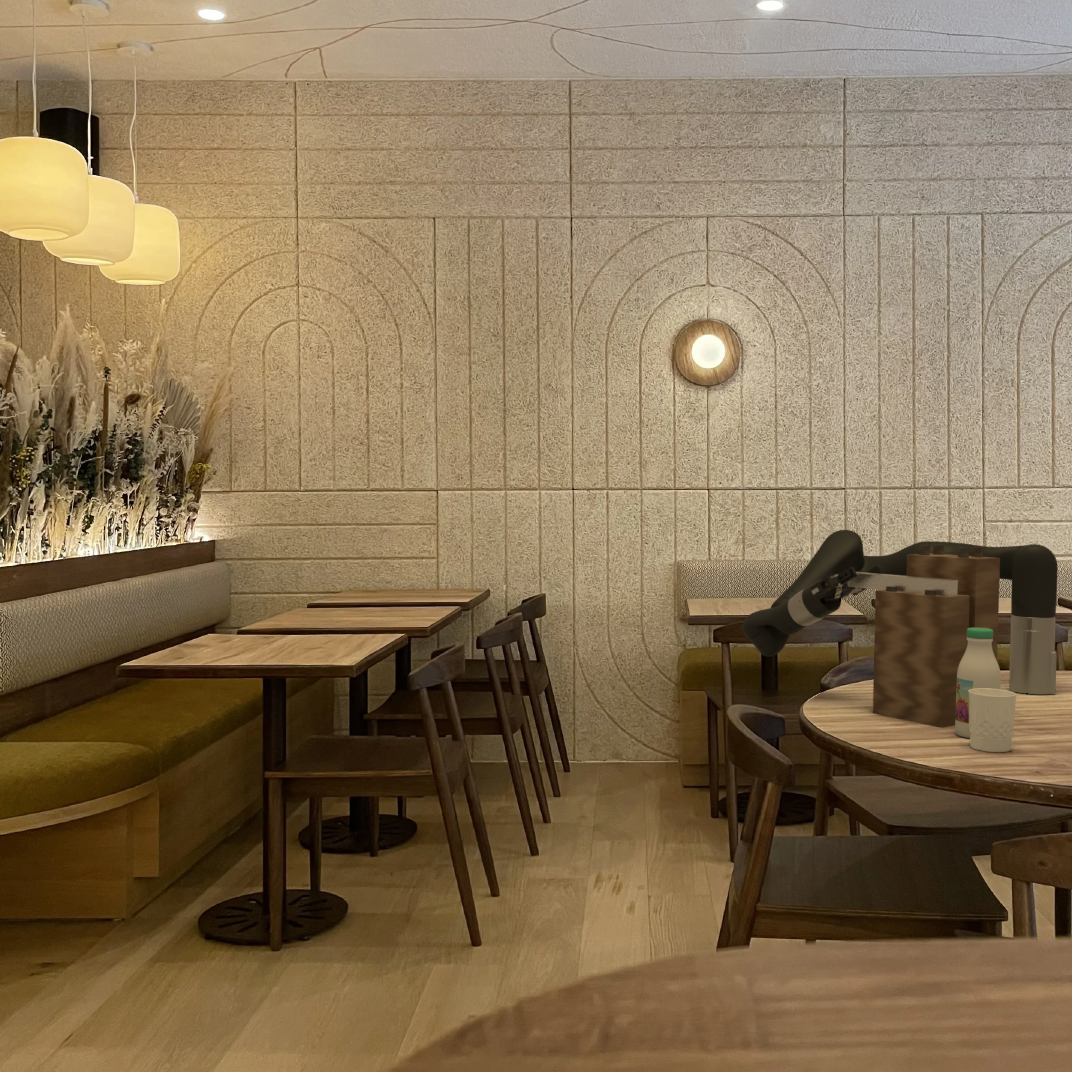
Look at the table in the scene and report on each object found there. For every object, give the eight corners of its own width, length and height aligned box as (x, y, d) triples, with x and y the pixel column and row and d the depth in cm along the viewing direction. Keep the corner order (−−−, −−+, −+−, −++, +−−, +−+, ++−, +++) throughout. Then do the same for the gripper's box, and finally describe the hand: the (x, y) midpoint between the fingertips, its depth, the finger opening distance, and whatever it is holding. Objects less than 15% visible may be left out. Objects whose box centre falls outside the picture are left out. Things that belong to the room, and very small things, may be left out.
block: (847, 586, 240) (847, 572, 239) (856, 585, 241) (857, 571, 241) (948, 596, 220) (948, 580, 220) (957, 595, 222) (957, 580, 222)
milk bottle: (998, 733, 214) (1001, 627, 213) (1000, 742, 207) (1003, 632, 206) (954, 730, 217) (957, 625, 216) (955, 738, 209) (958, 629, 209)
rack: (872, 713, 232) (876, 546, 230) (926, 704, 242) (930, 544, 241) (941, 727, 219) (946, 550, 217) (995, 716, 230) (1000, 547, 228)
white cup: (958, 743, 205) (960, 688, 205) (1001, 743, 206) (1002, 688, 206) (979, 753, 198) (981, 696, 197) (1023, 753, 198) (1024, 696, 198)
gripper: (785, 589, 246) (838, 555, 234) (829, 586, 254) (882, 553, 243) (798, 621, 243) (852, 588, 231) (841, 617, 252) (896, 585, 240)
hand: (867, 570), depth 237 cm, fingers open, 8 cm apart
